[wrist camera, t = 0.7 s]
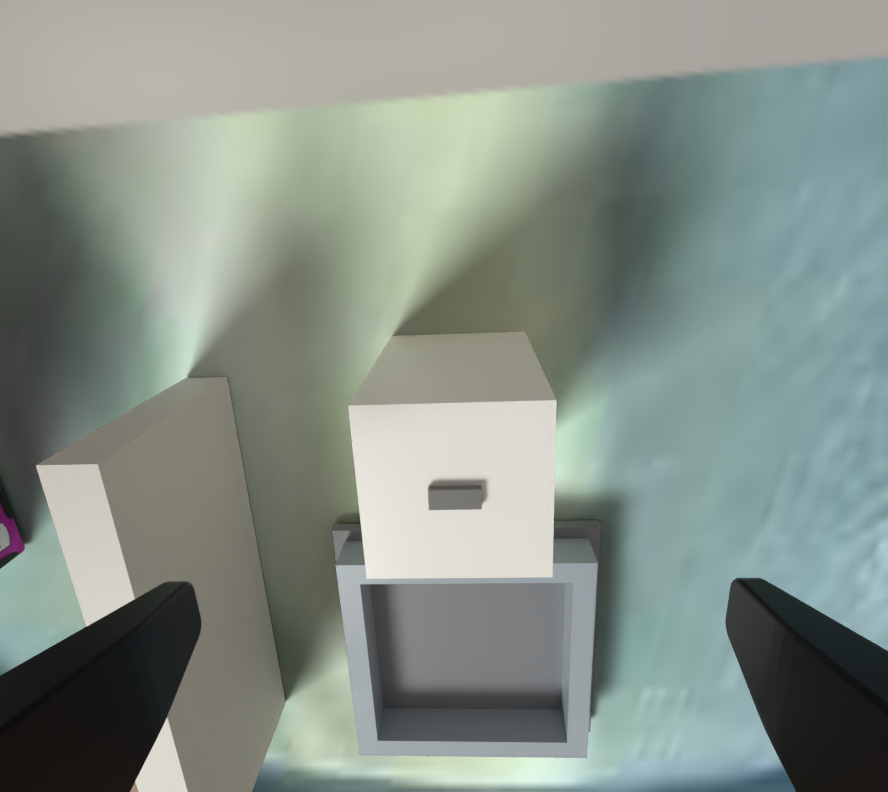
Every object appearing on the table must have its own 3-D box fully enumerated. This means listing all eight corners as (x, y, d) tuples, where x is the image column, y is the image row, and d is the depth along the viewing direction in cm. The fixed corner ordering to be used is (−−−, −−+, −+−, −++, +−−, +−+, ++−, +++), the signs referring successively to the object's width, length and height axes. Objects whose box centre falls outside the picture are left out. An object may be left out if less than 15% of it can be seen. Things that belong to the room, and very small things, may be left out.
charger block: (525, 331, 18) (558, 403, 11) (524, 453, 20) (553, 582, 13) (391, 336, 18) (346, 408, 12) (401, 456, 20) (365, 584, 13)
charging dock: (598, 520, 20) (611, 551, 18) (587, 721, 23) (597, 766, 22) (334, 523, 21) (321, 554, 19) (359, 719, 24) (349, 763, 22)
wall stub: (226, 376, 19) (97, 464, 12) (285, 702, 24) (214, 889, 17) (185, 377, 19) (35, 465, 13) (252, 701, 24) (169, 888, 17)
